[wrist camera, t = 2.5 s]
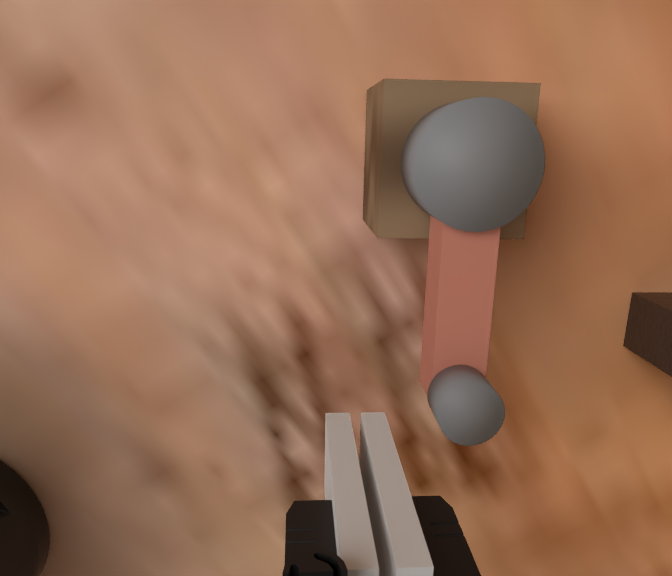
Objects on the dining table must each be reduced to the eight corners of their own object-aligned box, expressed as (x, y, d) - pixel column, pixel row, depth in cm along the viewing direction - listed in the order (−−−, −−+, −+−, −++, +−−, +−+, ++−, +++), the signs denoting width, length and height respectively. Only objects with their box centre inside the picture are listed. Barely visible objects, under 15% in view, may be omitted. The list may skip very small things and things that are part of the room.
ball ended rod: (404, 100, 28) (429, 91, 22) (521, 103, 28) (573, 95, 23) (389, 396, 32) (407, 446, 27) (492, 394, 32) (529, 444, 27)
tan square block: (482, 220, 37) (523, 239, 30) (362, 219, 36) (377, 238, 30) (493, 93, 35) (540, 83, 28) (366, 90, 34) (384, 78, 27)
